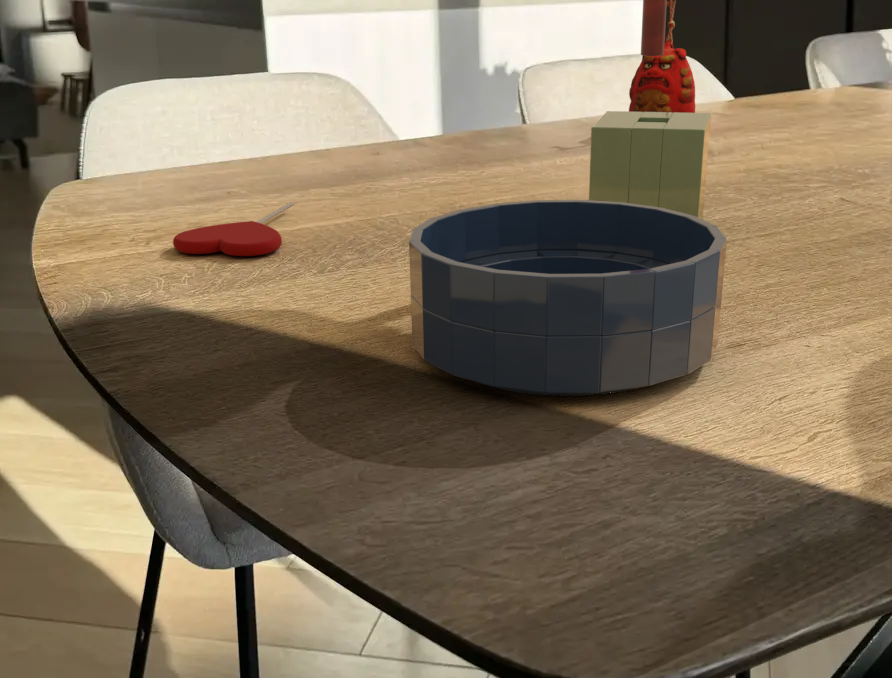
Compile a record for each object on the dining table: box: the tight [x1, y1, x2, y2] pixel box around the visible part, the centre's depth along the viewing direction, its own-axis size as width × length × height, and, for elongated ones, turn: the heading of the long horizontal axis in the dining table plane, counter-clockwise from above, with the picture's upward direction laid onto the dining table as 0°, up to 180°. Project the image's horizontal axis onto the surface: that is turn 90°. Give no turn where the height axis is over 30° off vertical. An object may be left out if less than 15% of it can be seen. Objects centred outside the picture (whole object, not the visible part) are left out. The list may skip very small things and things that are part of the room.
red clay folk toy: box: [628, 0, 696, 113], centre depth 124 cm, size 8×7×15 cm
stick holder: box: [588, 110, 712, 220], centre depth 84 cm, size 8×8×8 cm
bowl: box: [408, 199, 728, 397], centre depth 59 cm, size 16×16×6 cm
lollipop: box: [172, 201, 295, 257], centre depth 86 cm, size 8×1×15 cm
